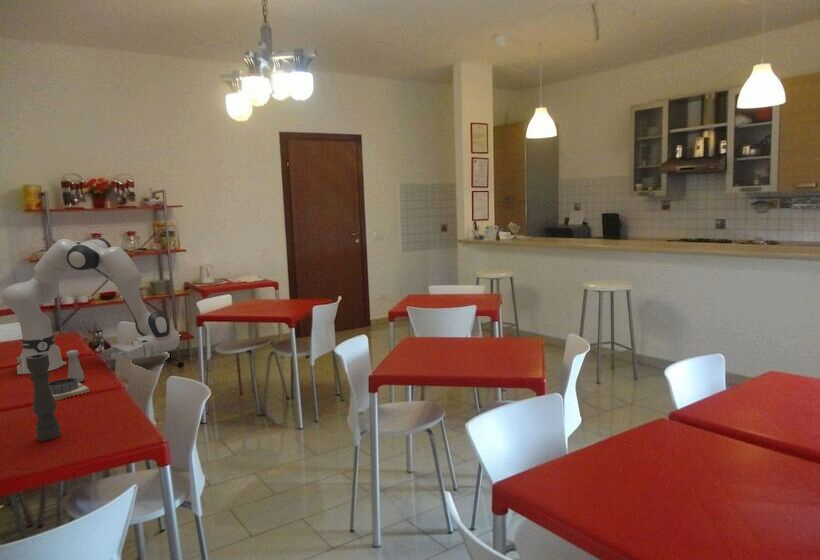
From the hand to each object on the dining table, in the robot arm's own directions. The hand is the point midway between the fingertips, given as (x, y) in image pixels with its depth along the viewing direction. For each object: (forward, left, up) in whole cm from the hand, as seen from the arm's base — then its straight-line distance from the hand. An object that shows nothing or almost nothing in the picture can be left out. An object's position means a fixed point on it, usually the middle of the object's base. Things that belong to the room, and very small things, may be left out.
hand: (106, 354), depth 244 cm
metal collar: (+12, -20, -7) cm, 24 cm away
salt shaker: (0, -12, -9) cm, 15 cm away
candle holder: (+57, -36, -9) cm, 68 cm away
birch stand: (+12, -20, -8) cm, 25 cm away
